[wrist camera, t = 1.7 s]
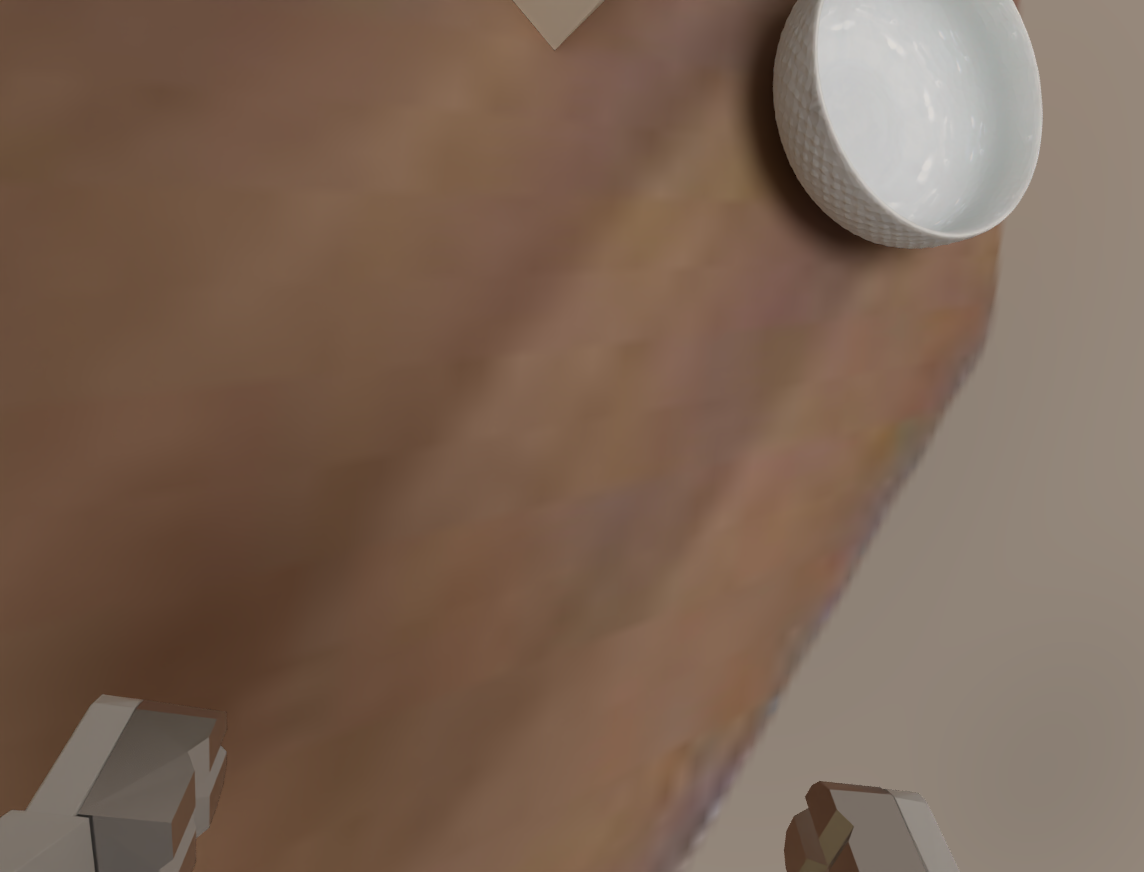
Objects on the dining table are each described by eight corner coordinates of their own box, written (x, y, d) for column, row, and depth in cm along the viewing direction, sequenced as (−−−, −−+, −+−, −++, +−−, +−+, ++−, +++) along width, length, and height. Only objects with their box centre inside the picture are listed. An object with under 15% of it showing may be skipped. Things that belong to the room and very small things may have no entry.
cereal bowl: (941, 26, 52) (1046, -33, 46) (941, 279, 52) (1046, 256, 45) (729, -46, 45) (819, -128, 38) (727, 249, 44) (817, 216, 38)
